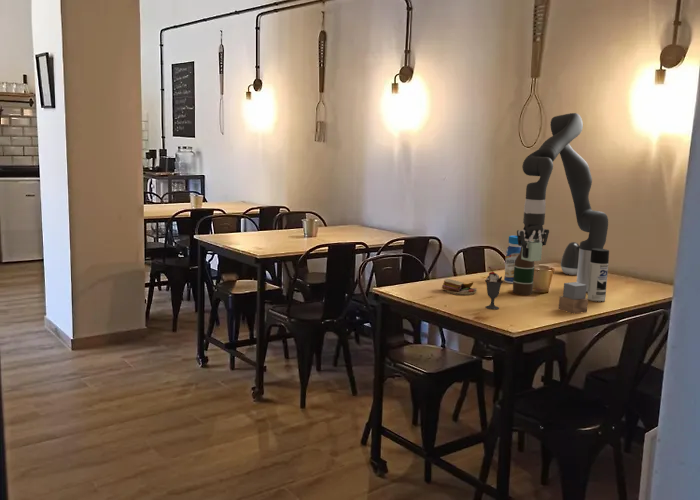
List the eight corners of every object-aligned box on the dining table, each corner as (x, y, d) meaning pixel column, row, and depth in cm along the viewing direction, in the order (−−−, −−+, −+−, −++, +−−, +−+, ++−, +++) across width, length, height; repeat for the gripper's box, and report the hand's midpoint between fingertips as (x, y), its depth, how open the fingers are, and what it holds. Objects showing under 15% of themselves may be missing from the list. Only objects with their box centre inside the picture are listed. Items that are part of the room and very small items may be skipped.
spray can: (596, 302, 260) (601, 251, 257) (583, 298, 266) (587, 248, 263) (608, 301, 263) (613, 250, 260) (595, 297, 269) (599, 247, 266)
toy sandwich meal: (470, 297, 263) (470, 285, 262) (437, 292, 269) (438, 281, 268) (480, 291, 274) (481, 280, 273) (449, 287, 280) (449, 276, 279)
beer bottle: (532, 295, 268) (537, 235, 264) (512, 294, 270) (517, 234, 266) (531, 291, 276) (536, 233, 272) (512, 290, 277) (516, 232, 273)
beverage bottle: (526, 281, 295) (529, 236, 292) (519, 284, 288) (523, 238, 285) (507, 279, 300) (510, 234, 296) (500, 282, 293) (504, 236, 289)
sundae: (480, 305, 249) (483, 265, 247) (498, 305, 250) (500, 265, 247) (485, 310, 243) (488, 268, 240) (503, 310, 243) (506, 269, 241)
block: (531, 258, 254) (532, 241, 253) (541, 260, 249) (542, 243, 248) (521, 259, 251) (522, 241, 250) (530, 261, 247) (531, 243, 246)
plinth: (572, 308, 251) (573, 294, 250) (586, 312, 245) (588, 299, 244) (558, 309, 248) (559, 296, 247) (572, 314, 242) (573, 300, 241)
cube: (574, 295, 249) (575, 282, 249) (585, 298, 245) (586, 285, 244) (562, 296, 247) (564, 283, 246) (574, 299, 242) (575, 286, 241)
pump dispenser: (570, 276, 310) (573, 244, 307) (555, 272, 319) (557, 240, 317) (587, 275, 314) (590, 243, 312) (571, 271, 323) (574, 240, 321)
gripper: (542, 210, 254) (538, 254, 257) (512, 211, 247) (509, 256, 250) (556, 212, 247) (553, 258, 250) (526, 213, 241) (523, 260, 244)
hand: (531, 257), depth 250 cm, fingers closed on block, 5 cm apart
